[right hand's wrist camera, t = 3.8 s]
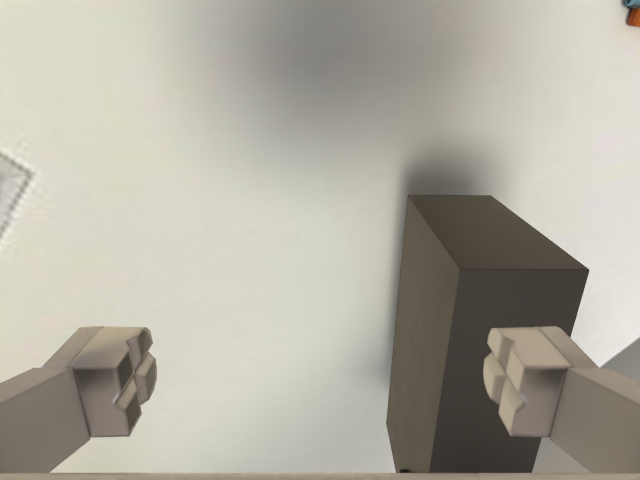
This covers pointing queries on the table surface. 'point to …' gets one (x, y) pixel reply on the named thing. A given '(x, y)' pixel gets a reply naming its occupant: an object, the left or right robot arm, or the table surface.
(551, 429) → the right robot arm
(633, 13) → the toy gun
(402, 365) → the box
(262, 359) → the table surface
